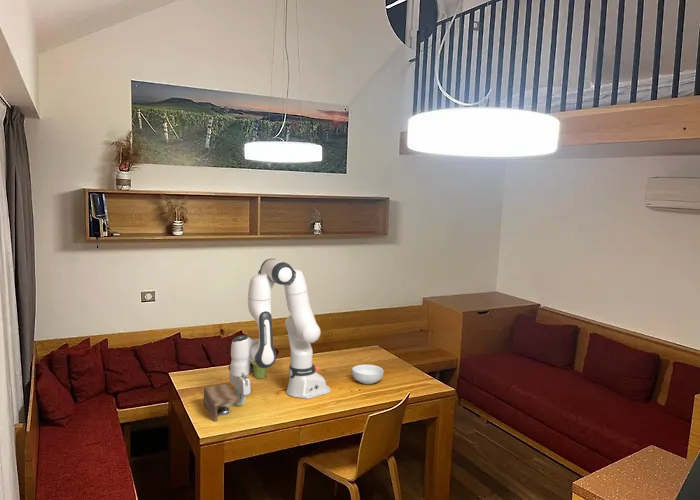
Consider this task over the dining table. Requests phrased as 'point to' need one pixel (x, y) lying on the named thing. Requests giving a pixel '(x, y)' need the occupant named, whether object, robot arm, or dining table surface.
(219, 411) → the steel puck
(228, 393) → the walnut shelf
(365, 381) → the cereal bowl
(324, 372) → the dining table surface
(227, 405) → the sage paddle
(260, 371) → the plant pot
